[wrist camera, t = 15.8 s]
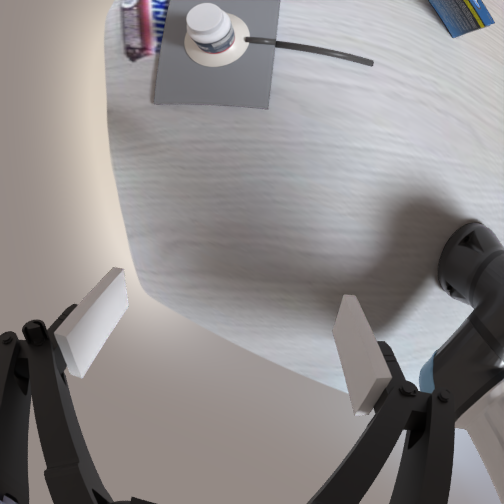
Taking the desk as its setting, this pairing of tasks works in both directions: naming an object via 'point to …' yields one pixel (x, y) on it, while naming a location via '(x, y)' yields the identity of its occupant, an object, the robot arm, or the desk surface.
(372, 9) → the desk surface
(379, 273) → the desk surface
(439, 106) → the desk surface
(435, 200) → the desk surface
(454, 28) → the label tape cartridge
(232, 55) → the board
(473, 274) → the robot arm
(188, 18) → the pill bottle
